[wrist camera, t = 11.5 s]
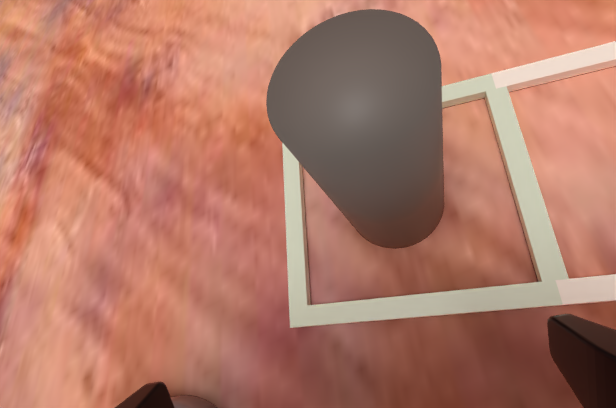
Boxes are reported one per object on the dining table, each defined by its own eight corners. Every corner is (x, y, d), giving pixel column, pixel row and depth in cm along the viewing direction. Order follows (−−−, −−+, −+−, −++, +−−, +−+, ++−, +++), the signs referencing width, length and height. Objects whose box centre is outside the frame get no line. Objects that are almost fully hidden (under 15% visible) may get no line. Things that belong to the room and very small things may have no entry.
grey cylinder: (447, 161, 19) (448, -2, 10) (440, 253, 18) (432, 164, 9) (355, 159, 21) (284, 20, 12) (342, 242, 20) (250, 160, 10)
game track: (783, 5, 16) (795, -6, 16) (980, 270, 12) (1005, 267, 11) (285, 132, 23) (281, 127, 23) (294, 327, 19) (290, 327, 19)
